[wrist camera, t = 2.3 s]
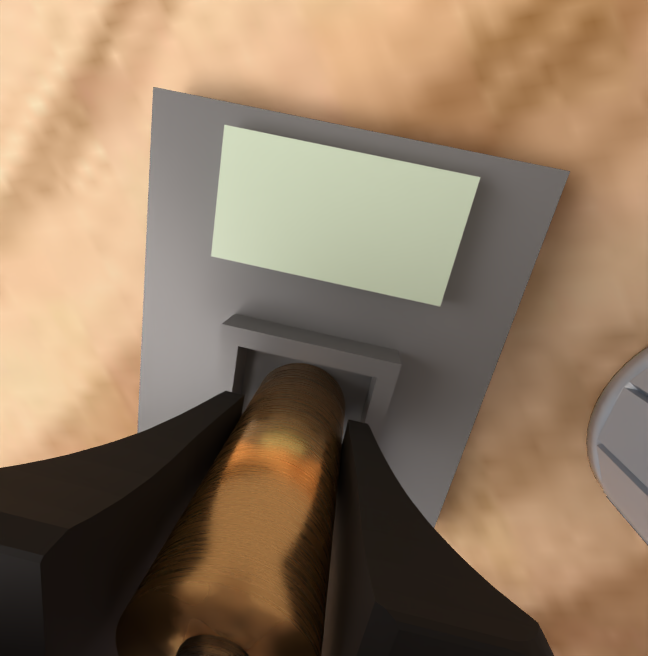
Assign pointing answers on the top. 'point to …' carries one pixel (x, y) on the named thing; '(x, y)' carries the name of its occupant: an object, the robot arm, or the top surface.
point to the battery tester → (334, 271)
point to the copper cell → (251, 535)
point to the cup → (623, 442)
